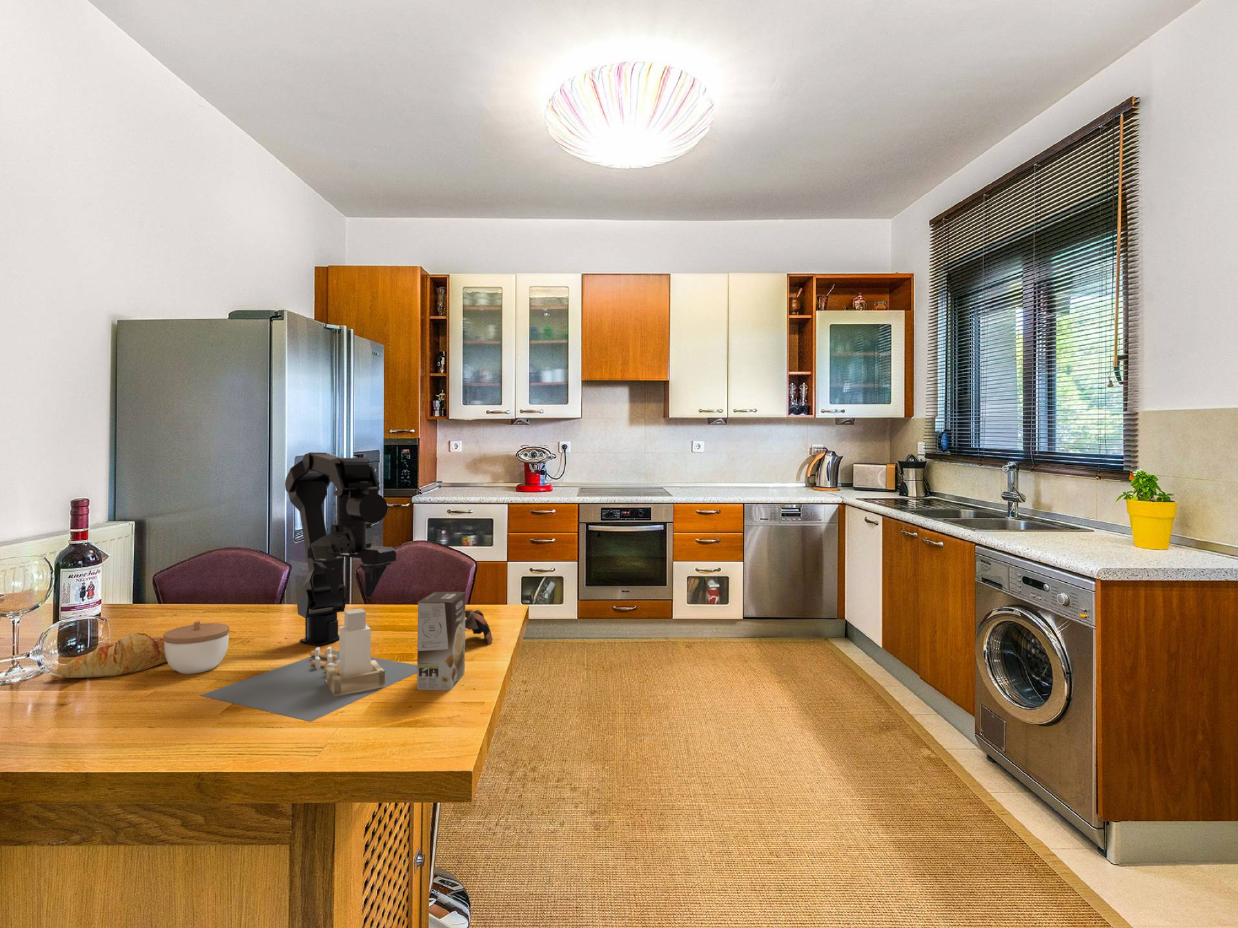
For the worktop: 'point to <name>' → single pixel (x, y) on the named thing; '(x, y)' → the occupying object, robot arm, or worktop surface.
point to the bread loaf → (117, 658)
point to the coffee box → (441, 640)
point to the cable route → (328, 656)
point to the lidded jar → (196, 646)
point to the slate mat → (301, 689)
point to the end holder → (356, 680)
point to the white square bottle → (354, 644)
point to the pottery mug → (478, 624)
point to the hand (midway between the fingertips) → (351, 594)
